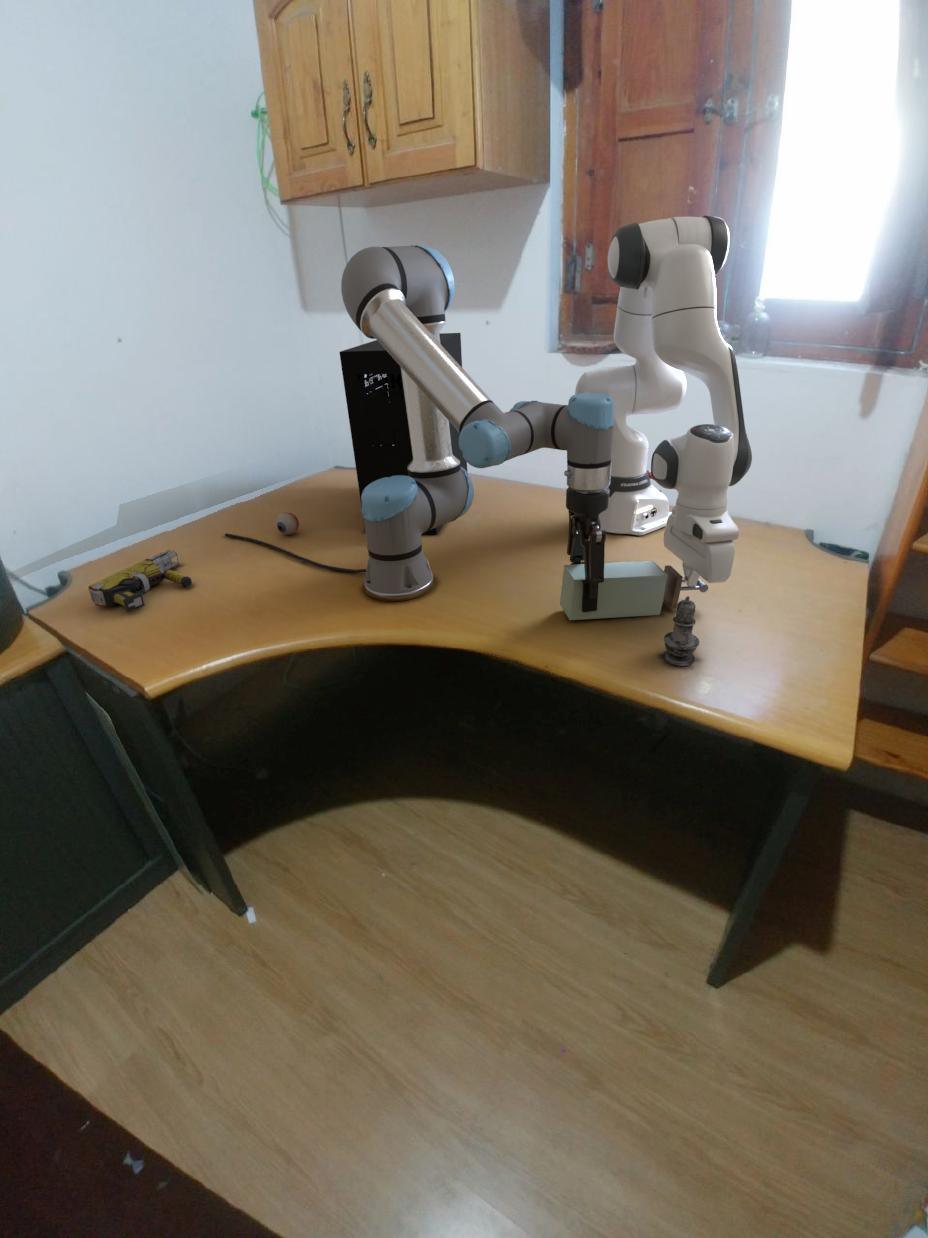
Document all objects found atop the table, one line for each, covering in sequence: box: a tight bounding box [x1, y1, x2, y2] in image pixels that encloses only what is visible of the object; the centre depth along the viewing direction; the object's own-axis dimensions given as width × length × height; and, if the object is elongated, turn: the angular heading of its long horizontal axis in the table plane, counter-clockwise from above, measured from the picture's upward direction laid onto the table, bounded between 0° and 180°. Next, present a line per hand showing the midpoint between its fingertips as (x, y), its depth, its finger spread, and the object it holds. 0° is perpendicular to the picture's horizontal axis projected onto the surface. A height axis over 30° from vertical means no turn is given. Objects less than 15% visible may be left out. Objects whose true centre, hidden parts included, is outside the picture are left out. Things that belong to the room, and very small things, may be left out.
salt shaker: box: [662, 595, 700, 667], centre depth 102 cm, size 6×6×12 cm
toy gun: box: [87, 549, 193, 614], centre depth 138 cm, size 5×24×15 cm
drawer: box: [662, 565, 709, 610], centre depth 118 cm, size 23×6×7 cm, turn 98°
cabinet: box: [559, 560, 668, 621], centre depth 117 cm, size 18×7×9 cm, turn 98°
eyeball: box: [275, 511, 300, 536], centre depth 163 cm, size 6×6×6 cm
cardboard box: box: [339, 332, 469, 535], centre depth 166 cm, size 38×20×45 cm, turn 167°
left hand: (583, 601), depth 118 cm, fingers closed on cabinet, 7 cm apart
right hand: (690, 585), depth 118 cm, fingers closed, pressing on drawer
